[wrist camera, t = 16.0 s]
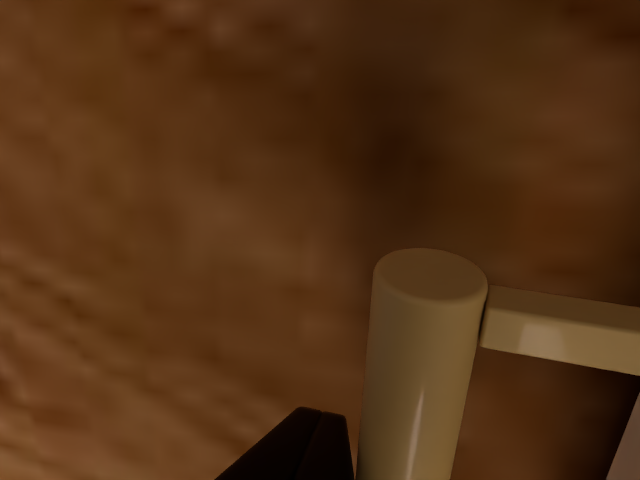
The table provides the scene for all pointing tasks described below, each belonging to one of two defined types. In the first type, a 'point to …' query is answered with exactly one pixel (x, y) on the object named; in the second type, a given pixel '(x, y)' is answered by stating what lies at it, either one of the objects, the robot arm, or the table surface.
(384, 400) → the drawer
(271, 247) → the table surface
